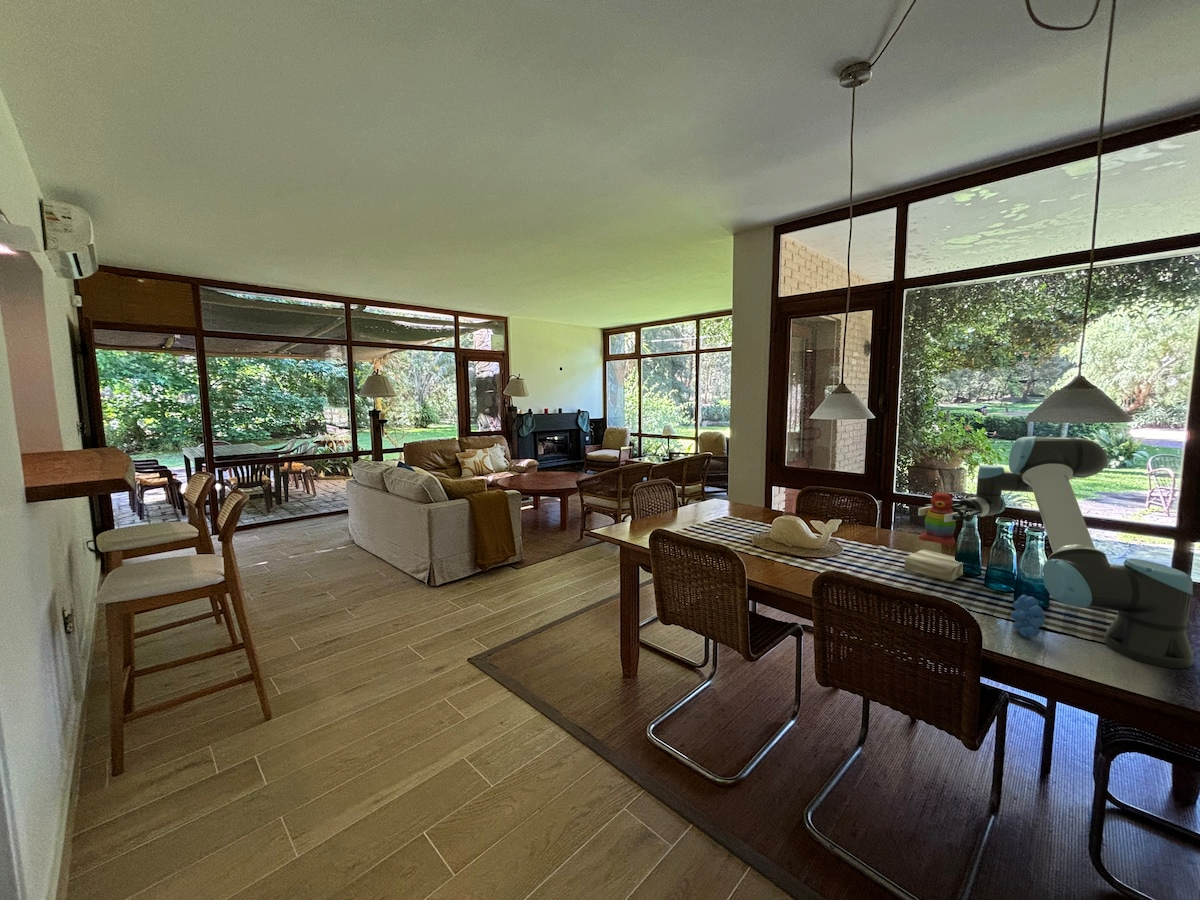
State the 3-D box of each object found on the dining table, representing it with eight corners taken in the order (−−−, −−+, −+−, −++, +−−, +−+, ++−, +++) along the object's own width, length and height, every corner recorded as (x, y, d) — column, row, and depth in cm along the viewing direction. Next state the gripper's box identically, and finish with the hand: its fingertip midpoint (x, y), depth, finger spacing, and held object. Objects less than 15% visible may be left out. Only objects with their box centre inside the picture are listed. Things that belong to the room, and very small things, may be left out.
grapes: (1057, 649, 127) (1062, 606, 126) (1026, 646, 129) (1031, 603, 127) (1031, 628, 138) (1035, 587, 137) (1003, 625, 140) (1007, 585, 139)
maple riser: (950, 582, 171) (951, 569, 171) (904, 569, 184) (905, 557, 183) (967, 573, 180) (968, 560, 179) (922, 561, 192) (923, 549, 191)
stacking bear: (917, 539, 181) (921, 492, 178) (925, 533, 187) (929, 488, 185) (952, 546, 173) (956, 497, 170) (959, 540, 179) (964, 493, 177)
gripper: (1002, 525, 176) (962, 533, 168) (941, 511, 196) (903, 517, 187) (1004, 505, 175) (964, 512, 167) (943, 492, 195) (904, 498, 186)
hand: (931, 515), depth 177 cm, fingers closed on stacking bear, 9 cm apart
